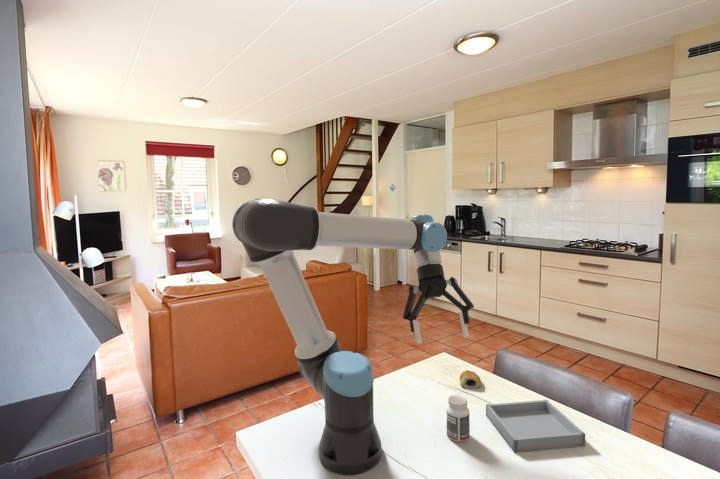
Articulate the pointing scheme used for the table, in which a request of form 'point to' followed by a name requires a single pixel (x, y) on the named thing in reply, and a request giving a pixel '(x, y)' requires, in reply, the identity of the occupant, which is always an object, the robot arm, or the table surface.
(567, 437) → the tray
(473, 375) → the pastry
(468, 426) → the pill bottle
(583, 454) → the table surface
